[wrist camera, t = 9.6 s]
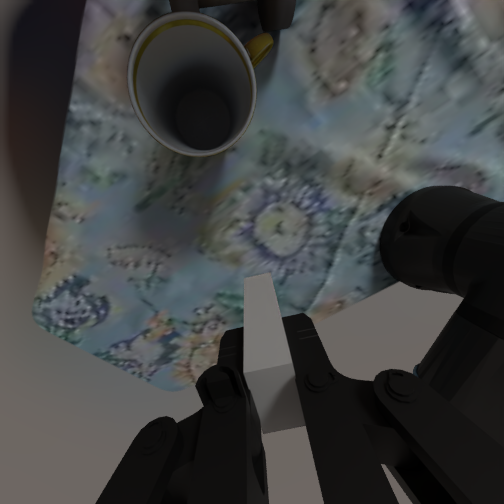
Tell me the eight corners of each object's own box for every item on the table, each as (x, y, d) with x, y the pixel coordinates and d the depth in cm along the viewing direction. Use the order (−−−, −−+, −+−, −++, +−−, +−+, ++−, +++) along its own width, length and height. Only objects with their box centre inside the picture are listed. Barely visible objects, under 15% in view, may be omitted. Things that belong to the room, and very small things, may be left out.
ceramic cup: (196, 182, 30) (184, 180, 20) (141, 108, 27) (96, 64, 17) (281, 120, 29) (309, 87, 19) (233, 36, 26) (239, -50, 17)
